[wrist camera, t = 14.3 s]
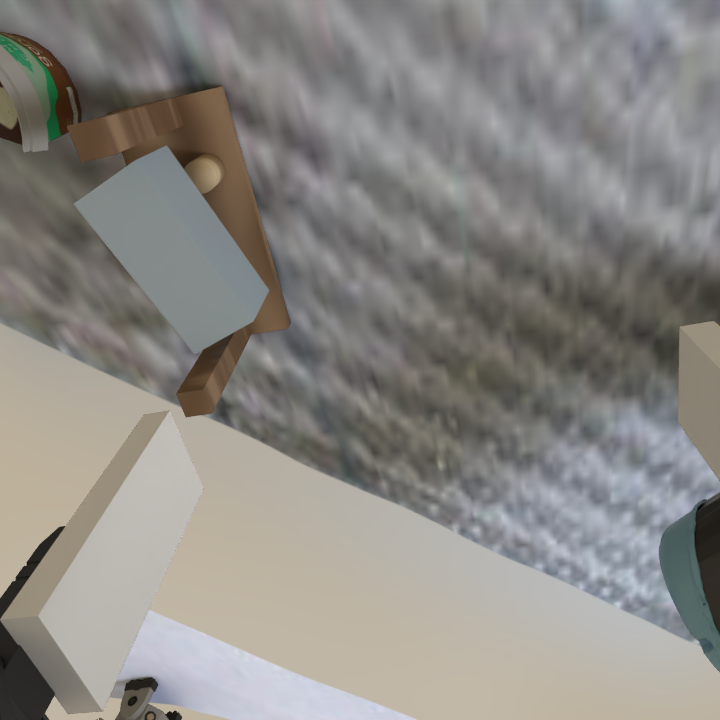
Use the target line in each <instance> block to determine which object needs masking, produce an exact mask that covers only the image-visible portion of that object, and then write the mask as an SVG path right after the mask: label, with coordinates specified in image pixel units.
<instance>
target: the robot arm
mask: <svg viewBox="0 0 720 720" xmlns="http://www.w3.org/2000/svg"><path fill="white" fill-rule="evenodd" d="M678 423H679V424H680V426H681V427H682V428H683V430H684V431H685V433H686V434H687V436H688V437H689V438H690V440H691V441H692V443H693V444H694V445H695V447H696V448H697V450H698V451H699V452H700V454H701V455H702V457H703V458H704V459H705V461H706V462H707V464H708V465H709V466H710V468H711V469H712V471H713V472H714V473H715V475H716V476H717V478H718V479H719V481H720V326H719V325H718V324H717V323H716V322H715V321H710V322H704V323H698V324H692V325H685V326H679V387H678ZM203 489H204V488H203V486H202V483H201V481H200V479H199V476H198V474H197V472H196V470H195V467H194V465H193V463H192V460H191V458H190V456H189V453H188V451H187V449H186V447H185V444H184V442H183V440H182V438H181V435H180V433H179V431H178V428H177V426H176V424H175V422H174V419H173V417H172V415H171V412H170V411H163V412H157V413H151V414H146V415H143V417H142V418H141V420H140V421H139V423H138V424H137V425H136V427H135V428H134V430H133V431H132V432H131V434H130V435H129V437H128V438H127V440H126V441H125V443H124V444H123V445H122V447H121V448H120V450H119V451H118V452H117V454H116V455H115V457H114V458H113V460H112V461H111V463H110V464H109V465H108V467H107V469H105V471H104V472H103V474H102V475H101V477H100V478H99V480H98V481H97V482H96V484H95V485H94V487H93V488H92V489H91V491H90V492H89V494H88V495H87V497H86V498H85V499H84V501H83V502H82V504H81V505H80V506H79V508H78V509H77V511H76V512H75V514H74V515H73V517H72V518H71V519H70V521H69V522H68V524H67V525H66V526H62V527H59V528H58V529H57V530H55V531H54V532H53V533H52V534H51V535H50V536H49V537H48V538H46V539H45V540H44V541H43V542H42V543H41V544H40V545H39V546H38V548H37V549H36V550H35V552H34V553H33V554H32V556H31V557H30V558H29V560H28V561H27V566H24V567H23V568H22V570H21V571H20V572H19V574H18V575H17V576H16V581H13V582H12V583H11V585H10V586H9V587H8V589H7V590H6V591H5V593H4V594H3V595H2V597H1V598H0V720H49V719H48V717H47V716H46V715H45V712H46V710H47V708H48V706H49V704H50V703H51V700H52V699H53V697H54V695H55V697H56V698H57V699H58V701H59V702H60V704H61V705H62V707H63V708H64V709H65V711H66V712H67V713H68V714H74V713H87V712H99V711H103V710H104V708H105V705H106V703H107V701H108V699H109V697H110V694H111V692H112V690H113V688H114V686H115V683H116V681H117V679H118V677H119V674H120V672H121V670H122V668H123V666H124V663H125V661H126V659H127V657H128V655H129V652H130V650H131V648H132V646H133V644H134V641H135V639H136V637H137V635H138V633H139V630H140V628H141V626H142V624H143V622H144V619H145V617H146V615H147V613H148V611H149V608H150V606H151V604H152V602H153V600H154V597H155V595H156V593H157V591H158V588H159V586H160V584H161V582H162V580H163V577H164V575H165V573H166V571H167V569H168V566H169V564H170V562H171V560H172V558H173V555H174V553H175V551H176V549H177V547H178V544H179V542H180V540H181V538H182V535H183V533H184V531H185V529H186V527H187V525H188V522H189V520H190V518H191V516H192V514H193V511H194V509H195V507H196V504H197V502H198V500H199V498H200V496H201V493H202V491H203ZM659 559H660V565H661V570H662V573H663V577H664V580H665V583H666V585H667V588H668V590H669V593H670V595H671V598H672V600H673V602H674V604H675V606H676V608H677V610H678V612H679V614H680V616H681V618H682V620H683V622H684V623H685V625H686V627H687V629H688V630H689V632H690V633H691V635H692V636H693V637H694V638H695V639H697V640H699V642H700V645H701V647H702V649H703V652H704V654H705V655H706V656H707V658H708V659H709V660H710V662H711V663H712V664H713V665H714V667H715V668H716V669H717V670H718V671H719V672H720V492H719V493H718V494H716V495H715V496H713V497H711V498H710V499H708V500H706V499H704V500H702V501H700V502H698V503H697V504H696V505H695V506H694V508H693V510H692V511H691V512H689V513H688V514H686V515H685V516H683V517H682V518H680V519H679V520H678V521H676V522H675V523H673V524H672V525H670V526H669V527H668V528H667V529H666V530H665V532H664V533H663V535H662V538H661V542H660V546H659Z"/></svg>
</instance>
